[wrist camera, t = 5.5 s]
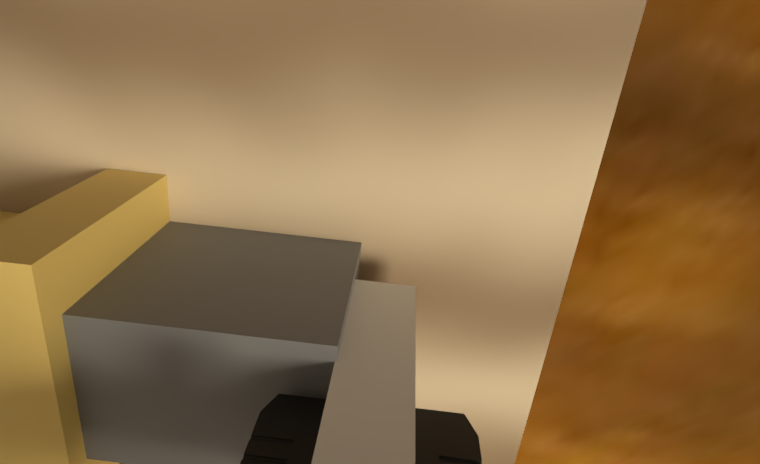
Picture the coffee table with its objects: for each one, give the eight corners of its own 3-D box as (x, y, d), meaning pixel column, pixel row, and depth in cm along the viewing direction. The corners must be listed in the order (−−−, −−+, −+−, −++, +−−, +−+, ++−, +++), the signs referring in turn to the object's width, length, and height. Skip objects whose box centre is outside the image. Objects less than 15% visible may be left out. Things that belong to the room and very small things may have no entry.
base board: (-490, -133, 12) (-565, -145, 11) (629, -1, 12) (647, -2, 11) (-251, 382, 18) (-287, 402, 17) (497, 480, 18) (502, 506, 17)
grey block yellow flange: (-204, 134, 13) (-534, 201, 9) (365, 197, 13) (338, 300, 8) (-134, 332, 16) (-363, 468, 11) (348, 389, 15) (319, 552, 11)
